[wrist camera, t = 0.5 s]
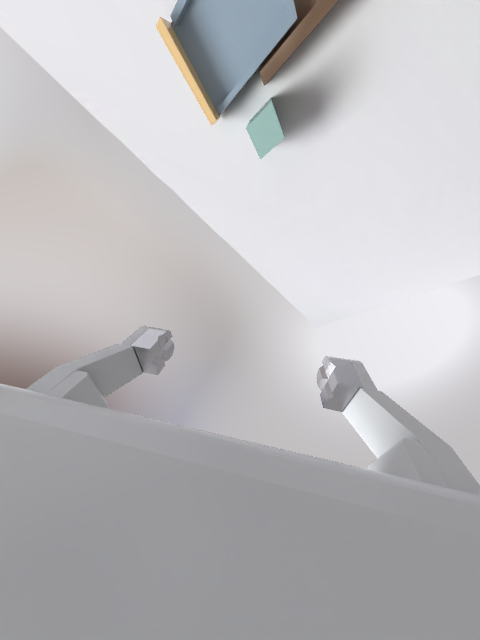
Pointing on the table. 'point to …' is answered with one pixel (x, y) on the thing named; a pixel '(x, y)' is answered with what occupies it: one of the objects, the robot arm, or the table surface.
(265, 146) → the block
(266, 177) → the table surface
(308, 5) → the dock
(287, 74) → the table surface
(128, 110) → the table surface
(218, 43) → the tray
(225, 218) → the table surface
